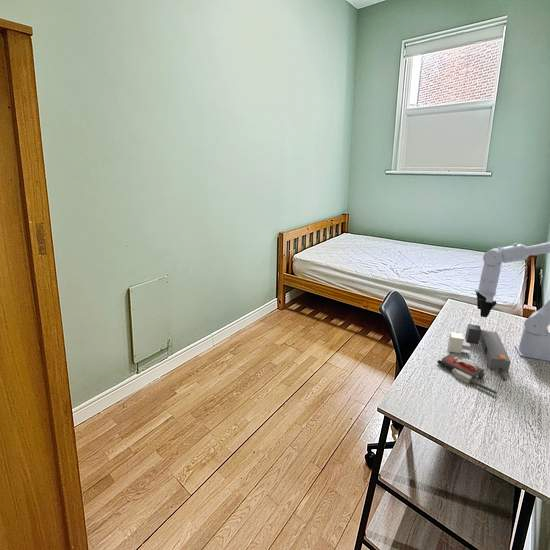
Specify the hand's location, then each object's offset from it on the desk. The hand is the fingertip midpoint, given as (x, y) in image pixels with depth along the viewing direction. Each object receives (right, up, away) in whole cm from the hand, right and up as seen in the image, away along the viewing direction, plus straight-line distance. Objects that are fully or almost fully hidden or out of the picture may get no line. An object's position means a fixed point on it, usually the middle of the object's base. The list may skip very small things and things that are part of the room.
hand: (482, 312), depth 139 cm
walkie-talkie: (-18, -19, -23) cm, 35 cm away
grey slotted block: (-6, -14, -12) cm, 20 cm away
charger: (-14, -13, -8) cm, 20 cm away
